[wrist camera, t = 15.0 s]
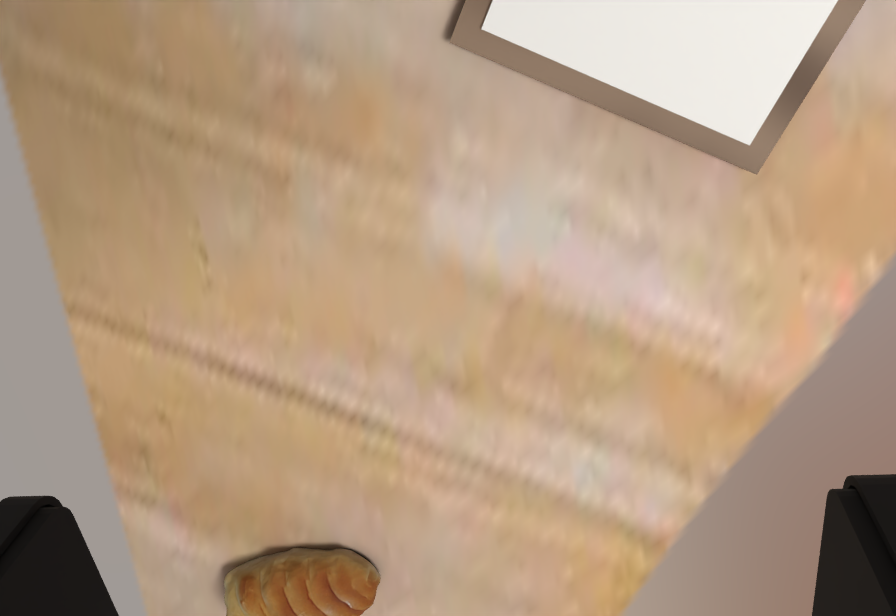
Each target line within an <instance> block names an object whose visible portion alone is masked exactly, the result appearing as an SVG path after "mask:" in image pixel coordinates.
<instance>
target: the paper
mask: <svg viewBox="0 0 896 616" xmlns="http://www.w3.org/2000/svg"><path fill="white" fill-rule="evenodd" d="M837 1H838V0H493V1H492V3H491V6H490V8H489V11H488V13H487V16H486V18H485V21H484V24H483V26H482V30H484V31H487V32H489V33H491V34H494V35H496V36H498V37H501V38H503V39H505V40H507V41H510V42H512V43H514V44H517V45H519V46H521V47H524V48H526V49H528V50H531V51H533V52H535V53H537V54H540V55H542V56H544V57H547V58H549V59H551V60H554V61H556V62H558V63H560V64H563V65H565V66H567V67H570V68H572V69H574V70H577V71H579V72H581V73H584V74H586V75H588V76H590V77H593V78H595V79H597V80H600V81H602V82H604V83H607V84H609V85H611V86H613V87H616V88H618V89H620V90H623V91H625V92H627V93H630V94H632V95H634V96H637V97H639V98H641V99H643V100H646V101H648V102H650V103H653V104H655V105H657V106H660V107H662V108H664V109H666V110H669V111H671V112H673V113H676V114H678V115H680V116H683V117H685V118H687V119H690V120H692V121H694V122H696V123H699V124H701V125H703V126H706V127H708V128H710V129H713V130H715V131H717V132H719V133H722V134H724V135H726V136H729V137H731V138H733V139H736V140H738V141H740V142H743V143H745V144H747V145H749V146H750V144H751V143H752V141H753V139H754V138H755V136H756V134H757V133H758V131H759V129H760V128H761V126H762V124H763V123H764V121H765V120H766V118H767V116H768V115H769V113H770V111H771V110H772V108H773V106H774V105H775V103H776V101H777V100H778V98H779V96H780V95H781V93H782V92H783V90H784V88H785V87H786V85H787V83H788V82H789V80H790V78H791V77H792V75H793V73H794V72H795V70H796V69H797V67H798V65H799V64H800V62H801V60H802V59H803V57H804V55H805V54H806V52H807V50H808V49H809V47H810V46H811V44H812V42H813V41H814V39H815V37H816V36H817V34H818V32H819V31H820V29H821V27H822V26H823V24H824V22H825V21H826V19H827V18H828V16H829V14H830V13H831V11H832V9H833V8H834V6H835V4H836V3H837Z"/></svg>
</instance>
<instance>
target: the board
mask: <svg viewBox="0 0 896 616" xmlns="http://www.w3.org/2000/svg"><path fill="white" fill-rule="evenodd" d="M492 1H493V0H465V3H464V5H463V8H462V11H461V13H460V16H459V19H458V21H457V24H456V26H455V29H454V32H453V34H452V37H451V40H450V43H452V44H455V45H457V46H459V47H462V48H464V49H466V50H469V51H471V52H473V53H476V54H478V55H480V56H483V57H485V58H487V59H490V60H492V61H494V62H497V63H499V64H501V65H504V66H506V67H508V68H510V69H513V70H515V71H517V72H520V73H522V74H524V75H527V76H529V77H531V78H534V79H536V80H538V81H541V82H543V83H545V84H548V85H550V86H552V87H555V88H557V89H559V90H562V91H564V92H566V93H569V94H571V95H573V96H575V97H578V98H580V99H582V100H585V101H587V102H589V103H592V104H594V105H596V106H599V107H601V108H603V109H606V110H608V111H610V112H613V113H615V114H617V115H620V116H622V117H624V118H627V119H629V120H631V121H634V122H636V123H638V124H640V125H643V126H645V127H647V128H650V129H652V130H654V131H657V132H659V133H661V134H664V135H666V136H668V137H671V138H673V139H675V140H678V141H680V142H682V143H685V144H687V145H689V146H692V147H694V148H696V149H698V150H701V151H703V152H705V153H708V154H710V155H712V156H715V157H717V158H719V159H722V160H724V161H726V162H729V163H731V164H733V165H736V166H738V167H740V168H743V169H745V170H747V171H750V172H752V173H754V174H758V172H759V170H760V169H761V167H762V166H763V164H764V162H765V161H766V159H767V158H768V156H769V154H770V153H771V151H772V150H773V148H774V146H775V145H776V143H777V142H778V140H779V138H780V137H781V135H782V134H783V132H784V130H785V129H786V127H787V126H788V124H789V122H790V121H791V119H792V118H793V116H794V114H795V113H796V111H797V110H798V108H799V106H800V105H801V103H802V102H803V100H804V98H805V97H806V95H807V94H808V92H809V90H810V89H811V87H812V86H813V84H814V82H815V81H816V79H817V78H818V76H819V74H820V73H821V71H822V70H823V68H824V66H825V65H826V63H827V62H828V60H829V58H830V57H831V55H832V54H833V52H834V50H835V49H836V47H837V46H838V44H839V42H840V41H841V39H842V38H843V36H844V34H845V33H846V31H847V30H848V28H849V26H850V25H851V23H852V22H853V20H854V18H855V17H856V15H857V14H858V12H859V10H860V9H861V7H862V6H863V4H864V2H865V1H866V0H838V1H837V3H836V4H835V6H834V8H833V9H832V11H831V13H830V14H829V16H828V18H827V19H826V21H825V22H824V24H823V26H822V27H821V29H820V31H819V32H818V34H817V36H816V37H815V39H814V41H813V42H812V44H811V46H810V47H809V49H808V50H807V52H806V54H805V55H804V57H803V59H802V60H801V62H800V64H799V65H798V67H797V69H796V70H795V72H794V73H793V75H792V77H791V78H790V80H789V82H788V83H787V85H786V87H785V88H784V90H783V92H782V93H781V95H780V96H779V98H778V100H777V101H776V103H775V105H774V106H773V108H772V110H771V111H770V113H769V115H768V116H767V118H766V120H765V121H764V123H763V124H762V126H761V128H760V129H759V131H758V133H757V134H756V136H755V138H754V139H753V141H752V143H751V144H750V146H749V145H747V144H745V143H743V142H740V141H738V140H736V139H733V138H731V137H729V136H726V135H724V134H722V133H719V132H717V131H715V130H713V129H710V128H708V127H706V126H703V125H701V124H699V123H696V122H694V121H692V120H690V119H687V118H685V117H683V116H680V115H678V114H676V113H673V112H671V111H669V110H666V109H664V108H662V107H660V106H657V105H655V104H653V103H650V102H648V101H646V100H643V99H641V98H639V97H637V96H634V95H632V94H630V93H627V92H625V91H623V90H620V89H618V88H616V87H613V86H611V85H609V84H607V83H604V82H602V81H600V80H597V79H595V78H593V77H590V76H588V75H586V74H584V73H581V72H579V71H577V70H574V69H572V68H570V67H567V66H565V65H563V64H560V63H558V62H556V61H554V60H551V59H549V58H547V57H544V56H542V55H540V54H537V53H535V52H533V51H531V50H528V49H526V48H524V47H521V46H519V45H517V44H514V43H512V42H510V41H507V40H505V39H503V38H501V37H498V36H496V35H494V34H491V33H489V32H487V31H484V30H482V26H483V24H484V21H485V18H486V16H487V13H488V11H489V8H490V6H491V3H492Z"/></svg>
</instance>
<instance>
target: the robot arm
mask: <svg viewBox="0 0 896 616" xmlns="http://www.w3.org/2000/svg"><path fill="white" fill-rule="evenodd" d="M0 616H119V615H118V613H117V611H116V609H115V607H114V604H113V602H112V600H111V598H110V595H109V593H108V591H107V589H106V587H105V584H104V582H103V580H102V578H101V576H100V573H99V571H98V569H97V567H96V564H95V562H94V560H93V558H92V556H91V554H90V551H89V549H88V547H87V545H86V542H85V540H84V538H83V536H82V534H81V531H80V529H79V527H78V525H77V522H76V520H75V518H74V516H73V514H72V512H71V511H70V510H69V509H68V508H66V507H63V506H62V504H61V503H60V501H59V500H58V499H56V498H55V497H53V496H22V497H21V496H20V497H8V498H5V499H3V500H2V501H1V502H0ZM812 616H896V474H891V475H851V476H848V477H847V478H846V480H845V482H844V486H843V489H831V490H830V491H829V492H828V495H827V501H826V509H825V517H824V524H823V533H822V540H821V548H820V556H819V564H818V573H817V580H816V588H815V596H814V605H813V612H812Z"/></svg>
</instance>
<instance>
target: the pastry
mask: <svg viewBox="0 0 896 616" xmlns="http://www.w3.org/2000/svg"><path fill="white" fill-rule="evenodd" d="M379 583H380V574H379V573H378V572H377V570H376V569H375V567H374V566H373V565H372V564H371V563H370V562H369V561H367V560H366V559H364V558H363V557H361V556H360V555H358V554H357V553H355V552H353V551H351V550H348V549H343V548H337V549H333V550H322V549H308V548H301V547H295V548H292V549H291V550H289V551H286V552H279V553H276V554H272V555H267V556H262V557H260V558H256V559H254V560H251V561H248V562H246V563H245V564H243V565H240V566H237V567H236V568H235V569H233V570H231V571H230V572H228V574H227V575H226V576H225V580H224V588H225V595H224V601H225V605H226V607H227V615H226V616H359V615H361V614H362V613H363V612H364V611H365V610H366V609H368V608H369V607H370V606H371V605H372V604H373V602H374V599H375V596H376V590H377V586H378V584H379Z"/></svg>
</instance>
